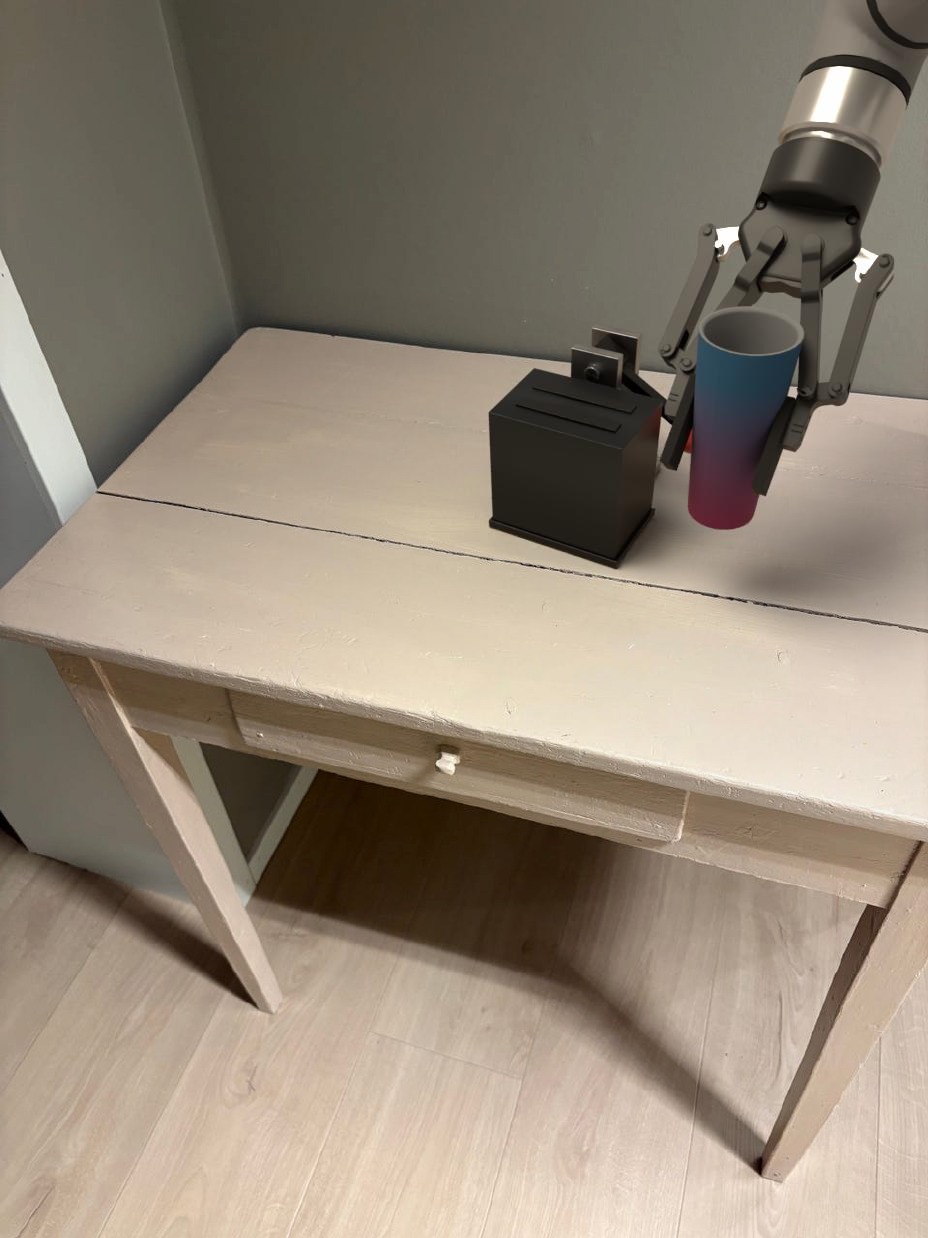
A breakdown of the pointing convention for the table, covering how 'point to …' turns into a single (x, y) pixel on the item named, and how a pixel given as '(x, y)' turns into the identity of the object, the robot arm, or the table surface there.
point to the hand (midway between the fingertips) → (712, 477)
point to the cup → (737, 407)
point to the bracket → (607, 359)
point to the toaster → (574, 465)
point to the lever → (636, 380)
